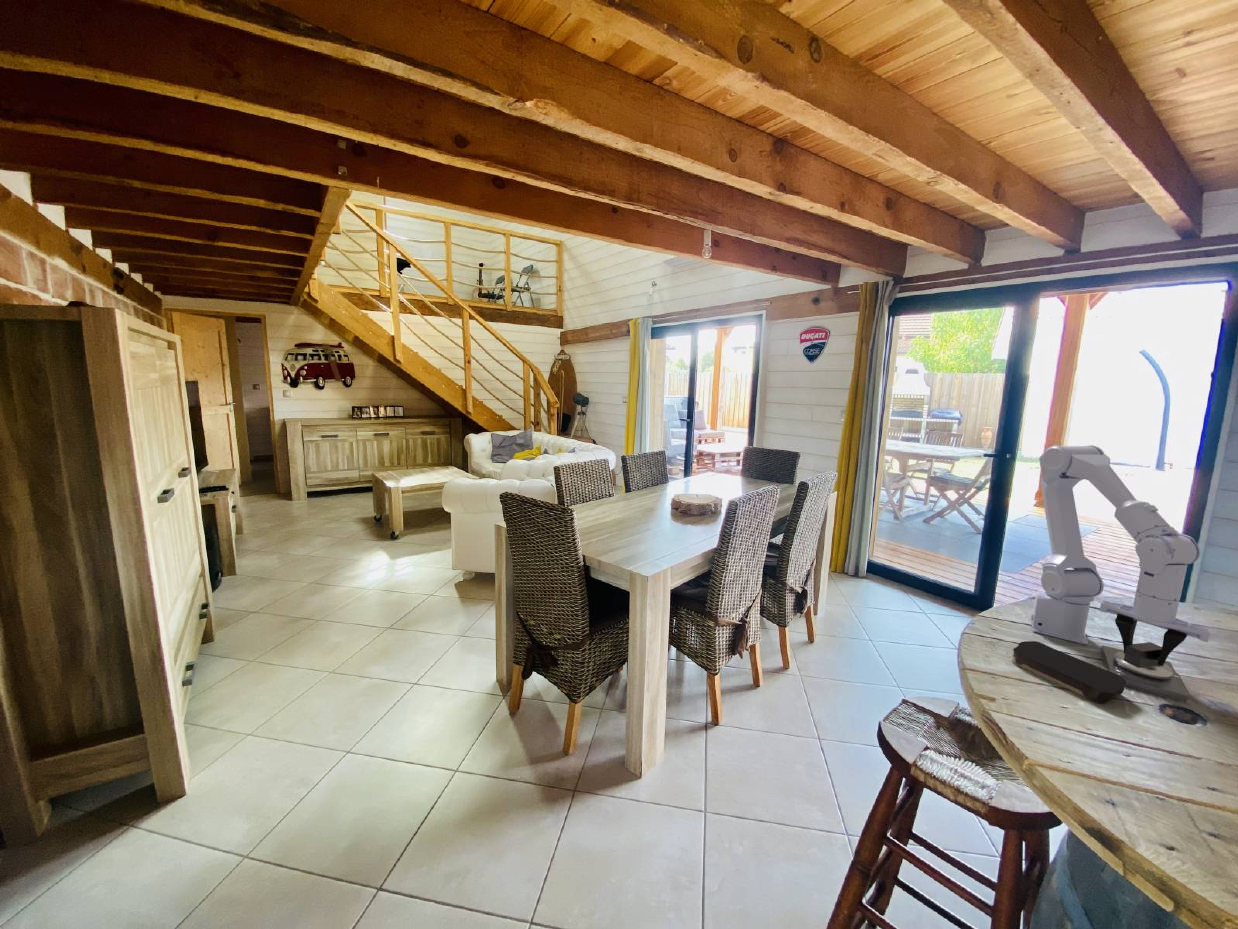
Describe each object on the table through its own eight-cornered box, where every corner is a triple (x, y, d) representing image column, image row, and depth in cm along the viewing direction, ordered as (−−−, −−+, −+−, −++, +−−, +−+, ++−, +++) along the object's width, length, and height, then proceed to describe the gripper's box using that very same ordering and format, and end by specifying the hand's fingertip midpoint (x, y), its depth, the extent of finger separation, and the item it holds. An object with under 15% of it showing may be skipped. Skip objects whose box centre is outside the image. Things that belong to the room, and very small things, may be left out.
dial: (1151, 681, 92) (1155, 660, 91) (1102, 657, 99) (1106, 638, 99) (1183, 676, 93) (1188, 656, 92) (1133, 654, 101) (1137, 634, 100)
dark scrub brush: (1129, 698, 90) (1132, 680, 89) (1104, 710, 87) (1108, 691, 86) (1028, 653, 105) (1030, 638, 104) (1004, 662, 102) (1006, 646, 101)
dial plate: (1110, 681, 94) (1111, 673, 94) (1100, 651, 105) (1102, 644, 105) (1187, 703, 88) (1189, 695, 88) (1168, 668, 99) (1170, 661, 98)
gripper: (1219, 603, 90) (1203, 670, 92) (1111, 577, 102) (1100, 636, 104) (1213, 613, 86) (1197, 682, 88) (1101, 584, 98) (1090, 646, 100)
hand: (1144, 658), depth 96 cm, fingers closed on dial, 4 cm apart
